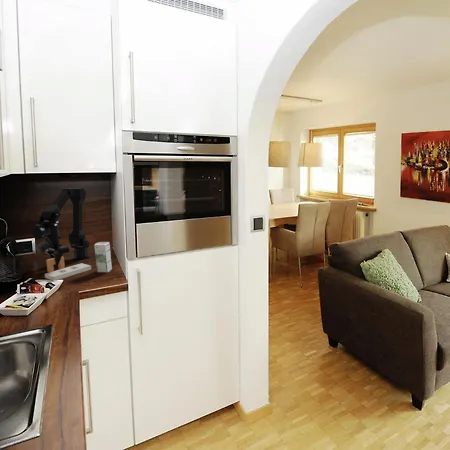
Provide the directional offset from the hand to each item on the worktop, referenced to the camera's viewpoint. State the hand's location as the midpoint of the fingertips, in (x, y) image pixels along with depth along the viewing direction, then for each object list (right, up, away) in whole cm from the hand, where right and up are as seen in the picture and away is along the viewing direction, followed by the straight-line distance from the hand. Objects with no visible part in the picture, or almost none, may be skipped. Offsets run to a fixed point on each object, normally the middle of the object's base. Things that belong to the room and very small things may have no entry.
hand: (55, 264), depth 189 cm
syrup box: (+26, -3, -3) cm, 26 cm away
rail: (+9, -4, -6) cm, 11 cm away
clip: (0, -3, +1) cm, 3 cm away
